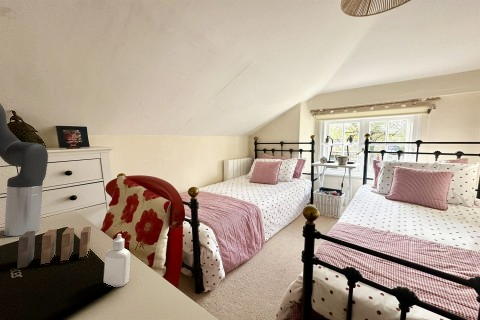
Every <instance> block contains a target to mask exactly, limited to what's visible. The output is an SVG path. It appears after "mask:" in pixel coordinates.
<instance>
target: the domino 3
mask: <svg viewBox="0 0 480 320" xmlns="http://www.w3.org/2000/svg"><path fill="white" fill-rule="evenodd" d="M91 230H92V227H91V226H84V227H83V228H82V229H81V231H80V238H79V239H80V241H79V256H78V259H79V258H80V257H84V256H87V254H88V251H89V252H90V245H91ZM88 255H89V254H88ZM87 257H88V256H87Z"/></svg>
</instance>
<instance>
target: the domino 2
mask: <svg viewBox="0 0 480 320" xmlns="http://www.w3.org/2000/svg"><path fill="white" fill-rule="evenodd" d="M74 237H75V227H69V228H65V230H64V231H63V232H62V234H61V252H60V262H61V261H63V260H69V258H70V256H71V254H72V252H73V253H74V239H75V238H74ZM72 255H73V254H72ZM71 257H72V256H71ZM70 259H71V258H70ZM69 261H70V260H69Z"/></svg>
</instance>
